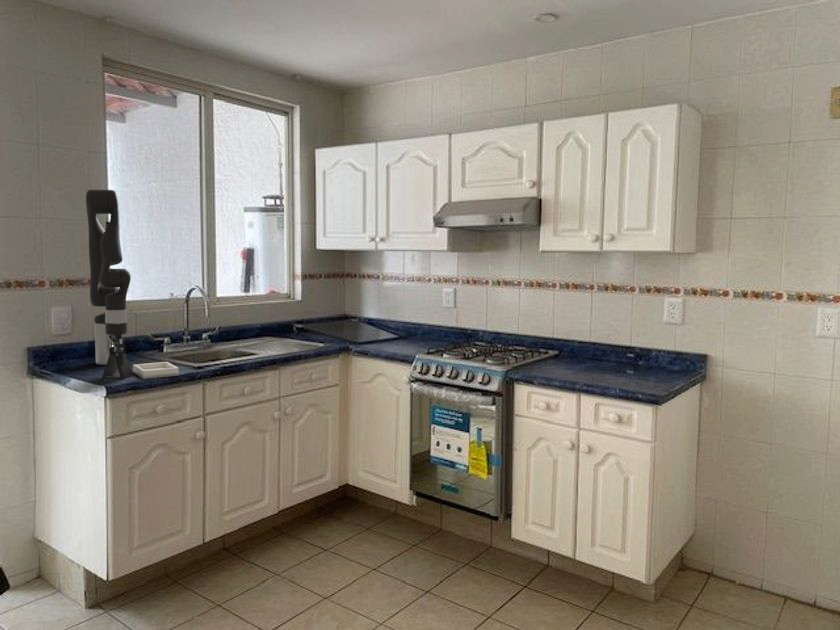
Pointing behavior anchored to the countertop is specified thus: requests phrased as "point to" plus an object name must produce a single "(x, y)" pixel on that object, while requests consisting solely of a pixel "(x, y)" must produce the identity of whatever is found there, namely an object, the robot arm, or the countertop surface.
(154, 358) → the countertop surface
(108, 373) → the dark tent sign
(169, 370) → the tray
